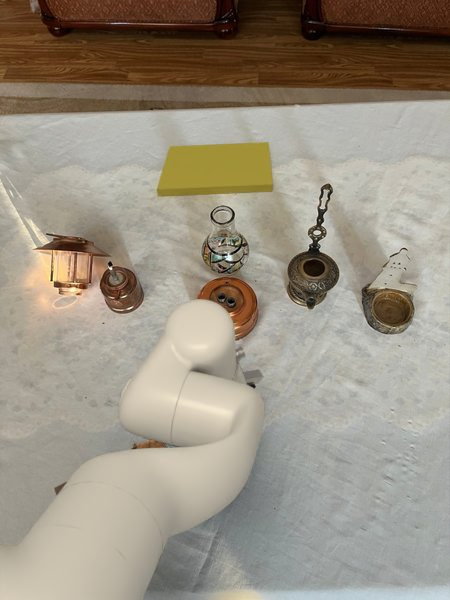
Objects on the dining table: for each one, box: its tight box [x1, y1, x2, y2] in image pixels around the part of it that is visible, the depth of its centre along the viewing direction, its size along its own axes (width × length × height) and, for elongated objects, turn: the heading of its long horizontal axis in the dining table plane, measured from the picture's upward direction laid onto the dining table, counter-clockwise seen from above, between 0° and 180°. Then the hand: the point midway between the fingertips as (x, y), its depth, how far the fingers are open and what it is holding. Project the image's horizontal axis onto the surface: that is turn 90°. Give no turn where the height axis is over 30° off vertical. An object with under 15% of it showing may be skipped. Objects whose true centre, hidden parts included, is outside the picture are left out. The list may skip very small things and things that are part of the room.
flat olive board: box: [156, 141, 274, 197], centre depth 112 cm, size 12×2×24 cm
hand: (212, 416), depth 79 cm, fingers open, 7 cm apart
